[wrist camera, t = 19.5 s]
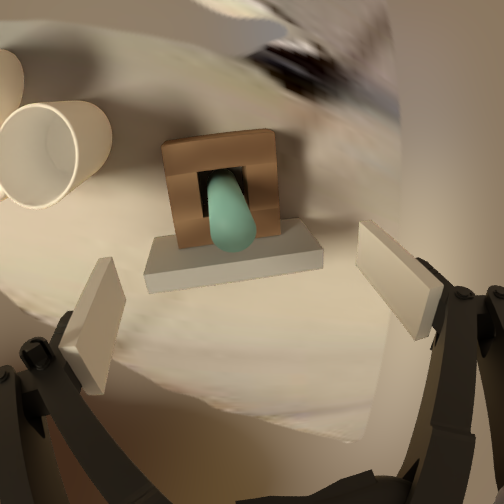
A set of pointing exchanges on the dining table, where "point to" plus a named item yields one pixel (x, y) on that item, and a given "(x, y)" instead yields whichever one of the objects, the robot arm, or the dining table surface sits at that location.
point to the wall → (232, 260)
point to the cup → (51, 150)
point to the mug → (10, 84)
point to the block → (217, 157)
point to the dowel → (229, 213)
